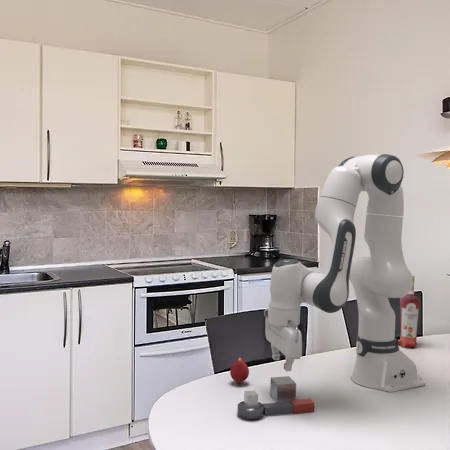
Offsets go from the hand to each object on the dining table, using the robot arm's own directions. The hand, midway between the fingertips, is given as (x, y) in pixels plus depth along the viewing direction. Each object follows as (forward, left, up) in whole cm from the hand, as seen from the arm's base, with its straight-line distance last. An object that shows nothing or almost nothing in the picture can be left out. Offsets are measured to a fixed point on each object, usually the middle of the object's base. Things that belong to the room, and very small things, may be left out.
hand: (281, 364), depth 142 cm
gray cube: (-1, 0, -10) cm, 10 cm away
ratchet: (+4, +8, -10) cm, 14 cm away
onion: (+8, -14, -10) cm, 19 cm away
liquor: (-68, -39, -10) cm, 79 cm away
